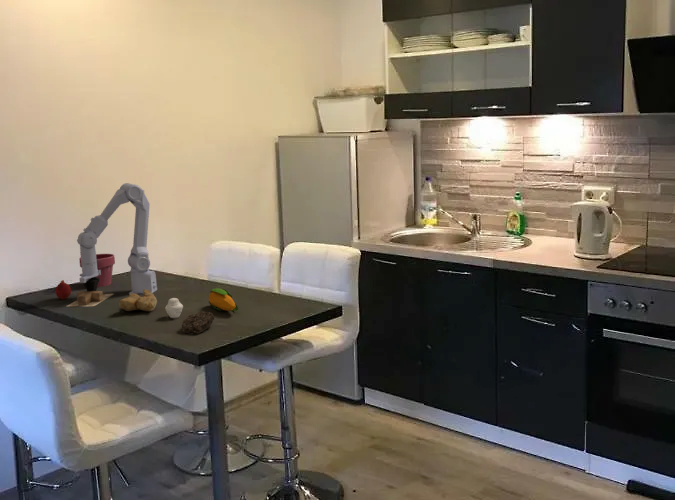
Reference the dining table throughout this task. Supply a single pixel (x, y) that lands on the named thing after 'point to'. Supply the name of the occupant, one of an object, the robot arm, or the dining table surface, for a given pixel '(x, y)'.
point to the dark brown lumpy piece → (197, 322)
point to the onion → (63, 290)
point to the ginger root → (139, 302)
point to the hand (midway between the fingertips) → (92, 296)
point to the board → (91, 302)
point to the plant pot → (104, 268)
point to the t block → (89, 297)
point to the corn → (222, 300)
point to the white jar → (174, 308)
